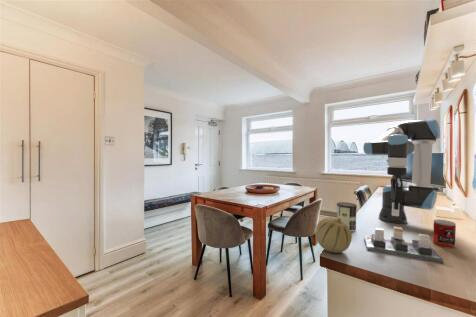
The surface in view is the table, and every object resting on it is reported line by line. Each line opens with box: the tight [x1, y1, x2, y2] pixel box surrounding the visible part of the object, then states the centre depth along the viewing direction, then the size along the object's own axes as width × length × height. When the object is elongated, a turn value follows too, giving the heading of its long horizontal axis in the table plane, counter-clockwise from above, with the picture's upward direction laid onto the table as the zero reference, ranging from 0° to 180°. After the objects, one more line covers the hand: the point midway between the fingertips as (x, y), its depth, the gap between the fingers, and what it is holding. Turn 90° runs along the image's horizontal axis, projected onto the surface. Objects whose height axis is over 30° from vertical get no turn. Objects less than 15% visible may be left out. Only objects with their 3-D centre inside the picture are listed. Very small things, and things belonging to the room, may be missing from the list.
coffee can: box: [336, 201, 358, 232], centre depth 126 cm, size 10×10×14 cm
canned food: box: [432, 219, 457, 249], centre depth 104 cm, size 8×8×11 cm
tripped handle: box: [392, 226, 404, 239], centre depth 101 cm, size 2×3×5 cm
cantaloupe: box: [314, 216, 353, 254], centre depth 96 cm, size 15×15×15 cm
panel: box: [363, 227, 444, 264], centre depth 98 cm, size 14×26×9 cm, turn 65°
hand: (395, 215), depth 105 cm, fingers closed
